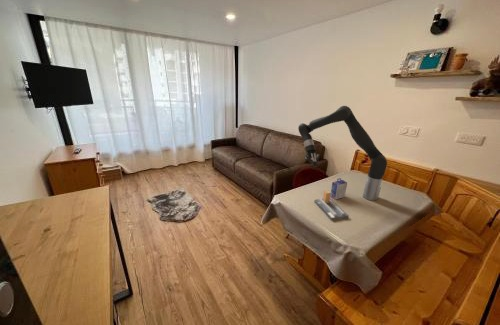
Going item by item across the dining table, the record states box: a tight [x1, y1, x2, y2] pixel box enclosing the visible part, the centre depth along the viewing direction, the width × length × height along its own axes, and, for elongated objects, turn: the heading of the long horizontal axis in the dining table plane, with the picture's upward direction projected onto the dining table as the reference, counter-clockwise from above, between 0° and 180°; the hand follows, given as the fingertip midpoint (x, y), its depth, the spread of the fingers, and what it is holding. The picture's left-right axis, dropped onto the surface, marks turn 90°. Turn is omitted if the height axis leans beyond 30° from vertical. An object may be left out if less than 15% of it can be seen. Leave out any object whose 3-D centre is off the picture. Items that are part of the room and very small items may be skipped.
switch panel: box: [314, 197, 349, 221], centre depth 136 cm, size 12×21×4 cm, turn 12°
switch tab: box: [322, 190, 331, 203], centre depth 140 cm, size 3×3×8 cm
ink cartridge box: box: [330, 177, 348, 200], centre depth 149 cm, size 10×6×14 cm, turn 113°
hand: (315, 166), depth 151 cm, fingers closed
